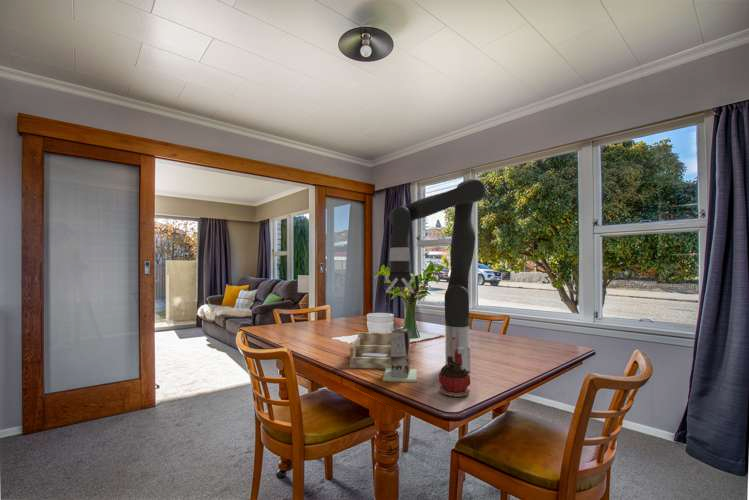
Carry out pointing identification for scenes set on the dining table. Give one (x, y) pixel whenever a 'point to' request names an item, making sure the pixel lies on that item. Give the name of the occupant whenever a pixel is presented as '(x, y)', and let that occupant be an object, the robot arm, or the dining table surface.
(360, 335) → the crate
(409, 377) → the mat
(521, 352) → the dining table surface
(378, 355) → the offcut upper
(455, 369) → the red potted plant
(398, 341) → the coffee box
